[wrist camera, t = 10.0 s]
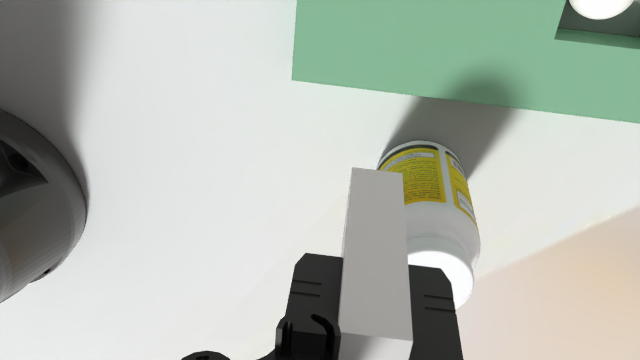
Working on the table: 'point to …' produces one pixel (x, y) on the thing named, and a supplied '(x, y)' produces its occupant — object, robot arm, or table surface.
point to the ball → (600, 7)
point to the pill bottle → (437, 212)
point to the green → (469, 54)
